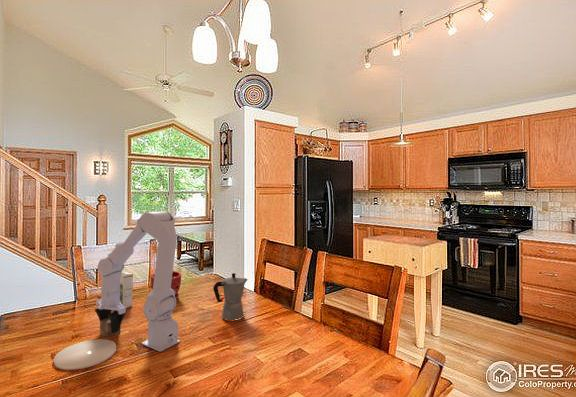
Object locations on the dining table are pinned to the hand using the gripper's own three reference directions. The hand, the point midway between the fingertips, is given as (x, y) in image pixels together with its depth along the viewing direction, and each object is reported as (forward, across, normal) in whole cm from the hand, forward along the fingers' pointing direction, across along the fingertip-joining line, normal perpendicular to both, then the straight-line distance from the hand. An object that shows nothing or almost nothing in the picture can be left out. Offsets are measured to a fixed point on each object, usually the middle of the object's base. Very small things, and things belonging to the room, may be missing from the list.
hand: (110, 329), depth 110 cm
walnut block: (+2, 0, 0) cm, 2 cm away
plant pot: (+2, -12, +33) cm, 35 cm away
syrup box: (+2, -20, +17) cm, 26 cm away
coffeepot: (+2, +26, +34) cm, 43 cm away
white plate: (+1, +8, -12) cm, 14 cm away
